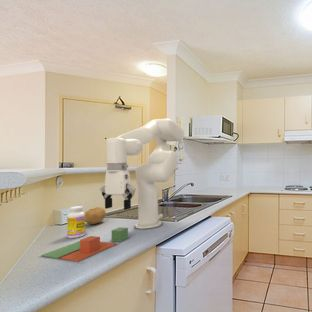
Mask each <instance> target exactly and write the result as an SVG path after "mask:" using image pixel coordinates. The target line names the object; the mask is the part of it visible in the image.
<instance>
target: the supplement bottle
mask: <svg viewBox="0 0 312 312" xmlns="http://www.w3.org/2000/svg"><path fill="white" fill-rule="evenodd" d="M85 235H86V222H85V212H84V211H83V206H82V205H77V206H76V205H75V206H70V207H69V213H68V214H67V216H66V237H67V238H68V239H76V238H77V239H78V238H81V237H83V236H85Z"/></svg>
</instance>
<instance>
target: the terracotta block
mask: <svg viewBox="0 0 312 312" xmlns="http://www.w3.org/2000/svg"><path fill="white" fill-rule="evenodd" d="M79 241H80V252H84V253H91V252H93V251H96V250H98V249H100V242H101V237H100V236H95V235H89V236H87V237H84V238H81V239H79Z"/></svg>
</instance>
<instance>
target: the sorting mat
mask: <svg viewBox="0 0 312 312" xmlns="http://www.w3.org/2000/svg"><path fill="white" fill-rule="evenodd" d="M116 245H117V242H116V243H114V242H106V241H100V249H98V250H96V251H93V252H91V253H84V252H80V240H79V241H76V242H74V243H71V244H68V245H65V246H63V247H61V248H60V247H59V248H58V249H55V250H52V251H49V252H46V253H44V254H42V255H41V257H43V258H44V257H45V258H51V259H58V260H63V261H64V260H65V261H70V262H77V263H79V262H81V261H83V260H85V259H87V258H90V257H92V256H95V255H96V254H98V253H100V252H103V251H105V250H107V249H109V248H112V247H114V246H116Z"/></svg>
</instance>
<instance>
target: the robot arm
mask: <svg viewBox="0 0 312 312" xmlns="http://www.w3.org/2000/svg"><path fill="white" fill-rule="evenodd" d="M184 137H185V131H184V129H183V127H181V125H180V124H178V123H177V122H176V121H175V120H173V119H171V118H154V119H151V120H150V121H148V122H147V123H145V124H144V125H142V126H141V127H138V128H135V129H133V130H130V131H127V132H124V133H122V134H120V135H118V136H117V137H109V138H107V139H106V142H105V143H106V171H105V177H104V185H103V186H102V187H100V189H99V191H100V193H101V195H102V197H103V200H104V210H105V209H106V210H108V209H111V208H113V197H112V196H122V197H123V198H124V199H123V210H124V211H126V210H130V209H131V208H132V199H133V197H134V196H135V193H136V191H137V218H138V220H137V222H136V223H135V224H134V227H135V228H136V229H139V230H146V229H153V228H157V227H160V226H162V221H161V220H160V219H162V218H163V217H164V215H163V213H159V191H158V190H159V189H158V187H157V184H156V183H166V182H168V181H169V180H170V179H171V178H172V176H173V173H174V172H175V170H176V168H177V166H178V165H179V164H178V162H179V156H178V153H177V152H176V151H173V150H172V149H171V146H169V144H168V143H169V142H180V141H182V140H183V139H184ZM154 140H155V143H156V146H155V148H154V149H153V150H152V152H151V153H150V154H149V156H148V157H147V162H145V163H141V164H139V165H138V166H137V167H136V168H135V178H136V184H137V190H136V188H135V187H133V186H132V181H131V173H130V170H128V168H129V164H128V156H129V157H131V156H132V157H133V156H138V155H140V154H141V153H142V152H143V150H144V145H146V144H149V143H152V141H154Z"/></svg>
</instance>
